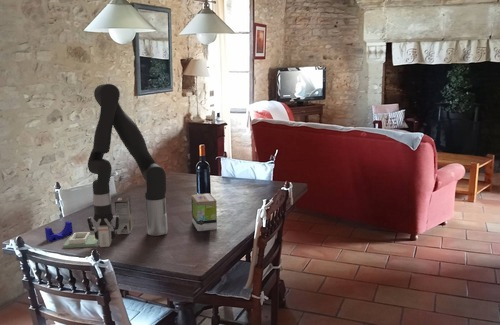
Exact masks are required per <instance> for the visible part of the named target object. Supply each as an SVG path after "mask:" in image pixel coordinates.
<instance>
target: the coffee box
mask: <svg viewBox="0 0 500 325" xmlns="http://www.w3.org/2000/svg"><path fill="white" fill-rule="evenodd" d="M114 209H115V212H114V213H115V216H117V215H119V216H120V218H119V228H118V229H117V230H116V234H117V235H130V234H131V232H132V229H133V216H132V200H131V196H116V199H115V201H114Z"/></svg>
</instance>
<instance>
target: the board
mask: <svg viewBox="0 0 500 325" xmlns="http://www.w3.org/2000/svg"><path fill="white" fill-rule="evenodd" d="M99 242H100V241H99V239H98V240H96V239H95V234H91V231H81V232H74V233H73V234H71V235H69V237H68V238H67V239H66V241H65V242H64V243H63V244H62V249H68V248H69V249H70V248H73V249H74V248H89V247H97V244H98V243H99Z"/></svg>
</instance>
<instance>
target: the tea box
mask: <svg viewBox="0 0 500 325" xmlns="http://www.w3.org/2000/svg"><path fill="white" fill-rule="evenodd" d="M190 199H191V221H192V222H191V223H192V224H193V226H194V227H195V229H196V231H197V232H204V231H211V230H217V228H218V225H217V224H218V221H217V220H218V216H217V215H218V214H217V213H218V212H217V211H218V210H217V208H218V207H217V200H216V198H215V197H214V196H213V195H212V194H211V193H209V192H208V193H201V194H200V193H199V194H191V198H190Z"/></svg>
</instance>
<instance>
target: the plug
mask: <svg viewBox="0 0 500 325" xmlns="http://www.w3.org/2000/svg"><path fill="white" fill-rule="evenodd" d="M98 232H99V241H98V242H99V248H104V247H110V245H111V244H112V239H111V229H110V228H109V227H108V225H99V227H98Z"/></svg>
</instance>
